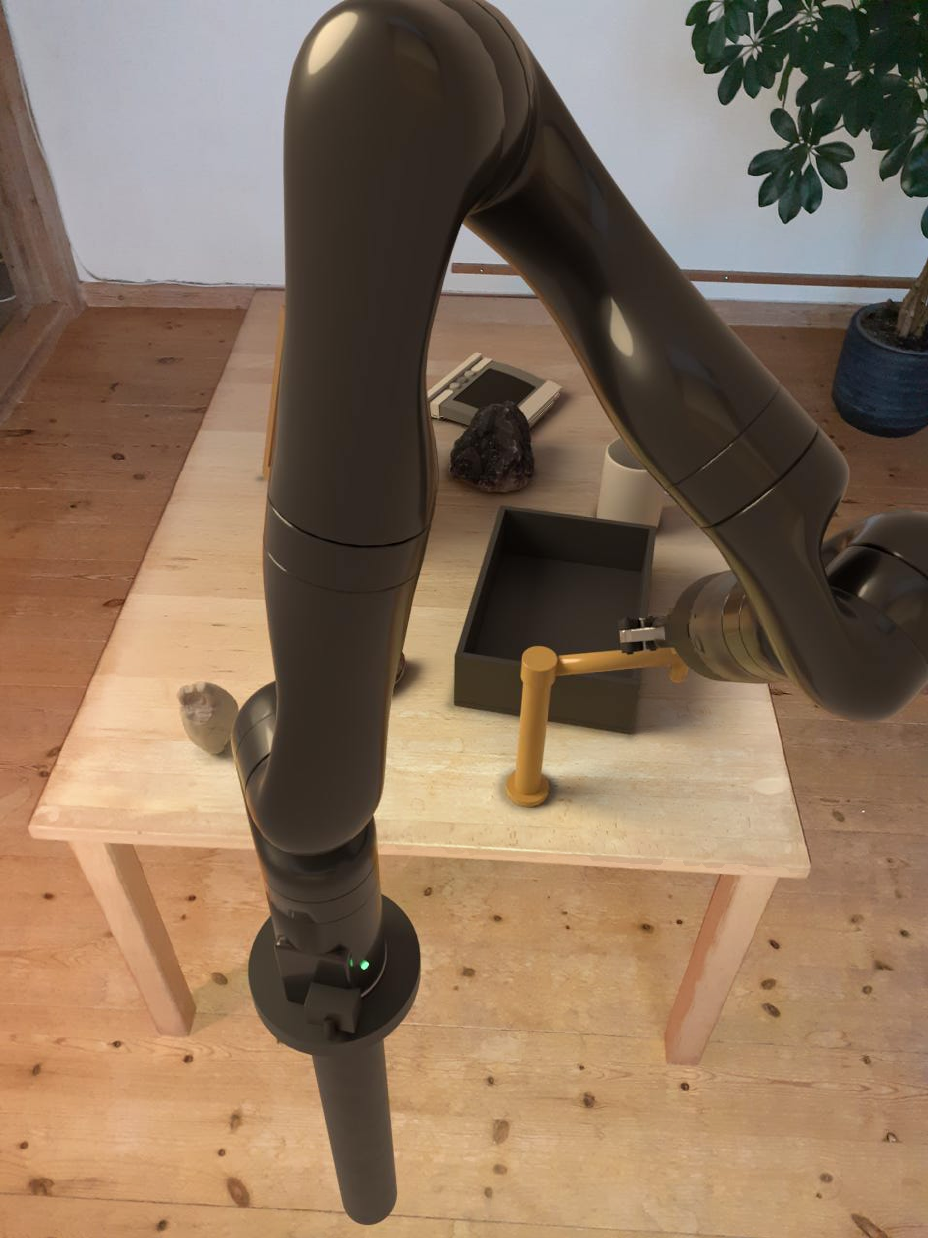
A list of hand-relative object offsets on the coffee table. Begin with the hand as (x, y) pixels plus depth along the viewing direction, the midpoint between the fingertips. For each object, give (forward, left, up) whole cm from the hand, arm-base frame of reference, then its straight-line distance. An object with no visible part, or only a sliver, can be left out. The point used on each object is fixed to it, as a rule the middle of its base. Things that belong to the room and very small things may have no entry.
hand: (664, 631), depth 81 cm
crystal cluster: (+57, +24, -26) cm, 68 cm away
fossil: (0, +43, -26) cm, 50 cm away
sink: (+25, +10, -26) cm, 37 cm away
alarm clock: (+74, +27, -26) cm, 83 cm away
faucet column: (+1, +10, -26) cm, 28 cm away
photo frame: (+44, +43, -26) cm, 67 cm away
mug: (+50, +2, -26) cm, 56 cm away
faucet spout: (+4, +4, -11) cm, 13 cm away
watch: (+13, +29, -26) cm, 41 cm away
